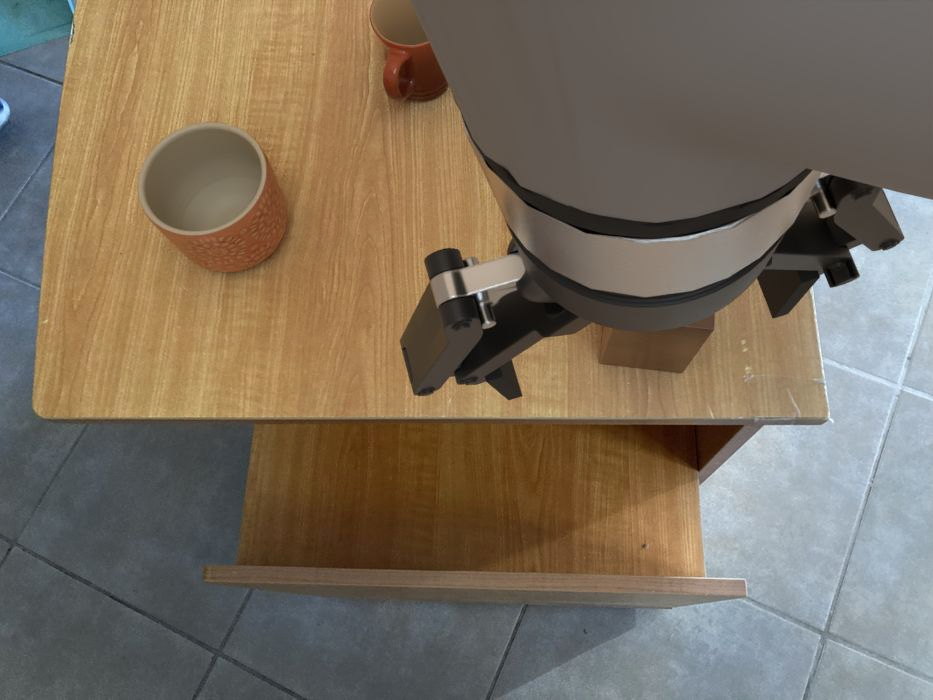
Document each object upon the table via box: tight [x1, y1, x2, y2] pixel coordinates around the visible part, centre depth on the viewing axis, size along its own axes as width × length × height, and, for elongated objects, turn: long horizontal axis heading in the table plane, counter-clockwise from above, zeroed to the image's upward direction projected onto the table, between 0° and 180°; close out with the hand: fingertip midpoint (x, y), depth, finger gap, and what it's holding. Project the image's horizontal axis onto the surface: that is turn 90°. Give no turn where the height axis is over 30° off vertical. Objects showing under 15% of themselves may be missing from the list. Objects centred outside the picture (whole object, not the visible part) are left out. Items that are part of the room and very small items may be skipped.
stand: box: [599, 313, 716, 374], centre depth 70 cm, size 8×8×12 cm
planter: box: [137, 121, 288, 273], centre depth 76 cm, size 12×12×11 cm
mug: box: [368, 0, 449, 102], centre depth 82 cm, size 12×9×10 cm
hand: (636, 333), depth 39 cm, fingers open, 13 cm apart
